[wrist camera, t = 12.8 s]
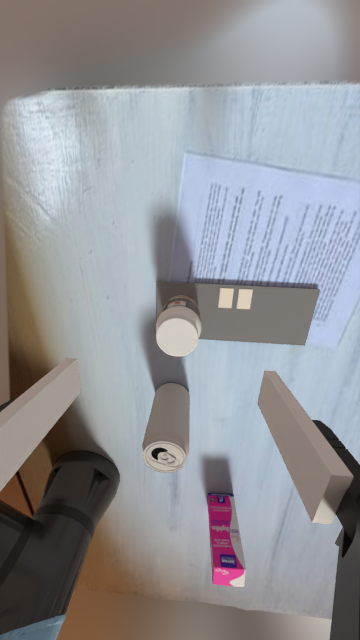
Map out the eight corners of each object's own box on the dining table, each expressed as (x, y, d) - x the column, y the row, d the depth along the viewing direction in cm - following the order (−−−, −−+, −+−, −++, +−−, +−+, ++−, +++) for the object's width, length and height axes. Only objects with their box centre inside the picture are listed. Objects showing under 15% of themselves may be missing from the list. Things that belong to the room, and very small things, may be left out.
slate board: (157, 335, 32) (156, 336, 32) (157, 280, 30) (156, 281, 29) (302, 343, 31) (305, 345, 31) (317, 288, 29) (320, 289, 28)
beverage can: (169, 374, 35) (158, 431, 23) (196, 393, 36) (199, 457, 24) (149, 396, 37) (130, 459, 25) (175, 413, 38) (169, 482, 26)
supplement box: (233, 492, 44) (247, 570, 33) (232, 509, 46) (245, 588, 35) (207, 491, 44) (213, 568, 33) (207, 508, 46) (212, 586, 35)
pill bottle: (159, 298, 30) (144, 318, 20) (195, 291, 29) (197, 307, 20) (167, 332, 32) (157, 364, 22) (202, 325, 31) (207, 356, 21)
